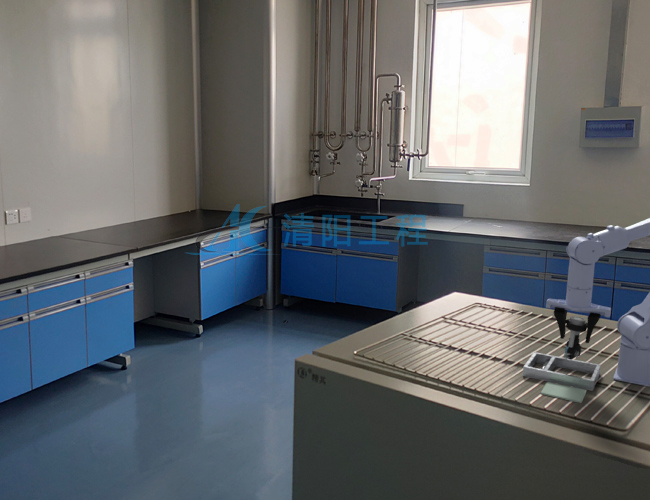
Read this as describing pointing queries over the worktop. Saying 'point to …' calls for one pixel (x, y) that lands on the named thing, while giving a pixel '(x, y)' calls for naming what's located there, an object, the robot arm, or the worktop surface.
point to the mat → (564, 392)
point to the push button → (574, 336)
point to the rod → (544, 365)
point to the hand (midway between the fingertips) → (574, 339)
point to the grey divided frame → (559, 377)
